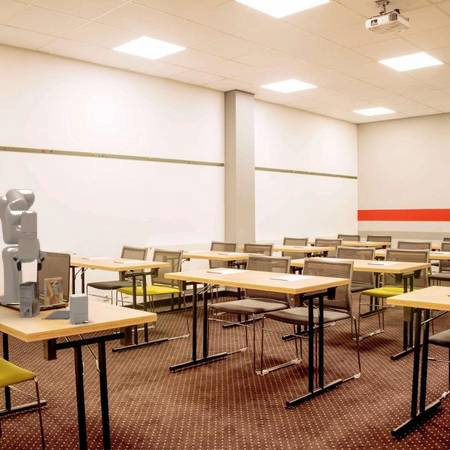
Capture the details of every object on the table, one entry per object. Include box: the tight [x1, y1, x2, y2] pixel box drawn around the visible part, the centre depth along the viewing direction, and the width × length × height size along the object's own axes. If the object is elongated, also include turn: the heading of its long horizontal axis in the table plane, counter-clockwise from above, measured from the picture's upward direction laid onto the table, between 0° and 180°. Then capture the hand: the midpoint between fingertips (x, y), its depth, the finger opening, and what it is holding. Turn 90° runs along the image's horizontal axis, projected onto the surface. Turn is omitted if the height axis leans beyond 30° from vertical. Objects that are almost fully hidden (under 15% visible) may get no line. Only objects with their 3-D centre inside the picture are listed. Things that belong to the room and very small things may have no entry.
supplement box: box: [68, 293, 89, 324], centre depth 239 cm, size 7×7×13 cm
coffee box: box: [19, 281, 40, 318], centre depth 253 cm, size 9×6×16 cm
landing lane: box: [41, 309, 70, 320], centre depth 253 cm, size 13×18×1 cm
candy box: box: [43, 277, 64, 306], centre depth 274 cm, size 9×4×15 cm, turn 129°
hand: (29, 270), depth 252 cm, fingers open, 9 cm apart
